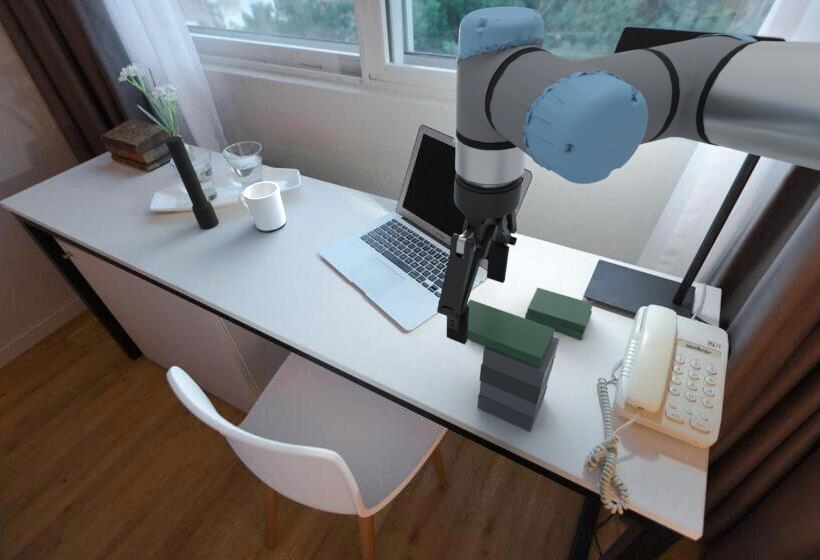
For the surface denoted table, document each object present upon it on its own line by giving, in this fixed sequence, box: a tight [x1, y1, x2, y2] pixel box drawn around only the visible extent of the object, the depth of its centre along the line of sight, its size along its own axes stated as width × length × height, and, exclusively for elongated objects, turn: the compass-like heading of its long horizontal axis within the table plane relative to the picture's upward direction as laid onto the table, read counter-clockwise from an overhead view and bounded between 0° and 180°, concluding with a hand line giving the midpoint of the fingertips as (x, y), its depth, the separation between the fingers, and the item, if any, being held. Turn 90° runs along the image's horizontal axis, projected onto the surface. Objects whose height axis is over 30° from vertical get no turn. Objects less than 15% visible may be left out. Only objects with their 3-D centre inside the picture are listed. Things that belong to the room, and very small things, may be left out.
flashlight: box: [164, 135, 219, 230], centre depth 110 cm, size 5×24×5 cm
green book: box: [467, 298, 555, 368], centre depth 62 cm, size 6×13×2 cm, turn 59°
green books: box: [524, 287, 594, 341], centre depth 84 cm, size 7×11×4 cm, turn 59°
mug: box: [237, 180, 287, 233], centre depth 113 cm, size 11×9×10 cm
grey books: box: [476, 336, 560, 433], centre depth 67 cm, size 7×9×15 cm
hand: (477, 307), depth 62 cm, fingers open, 13 cm apart
